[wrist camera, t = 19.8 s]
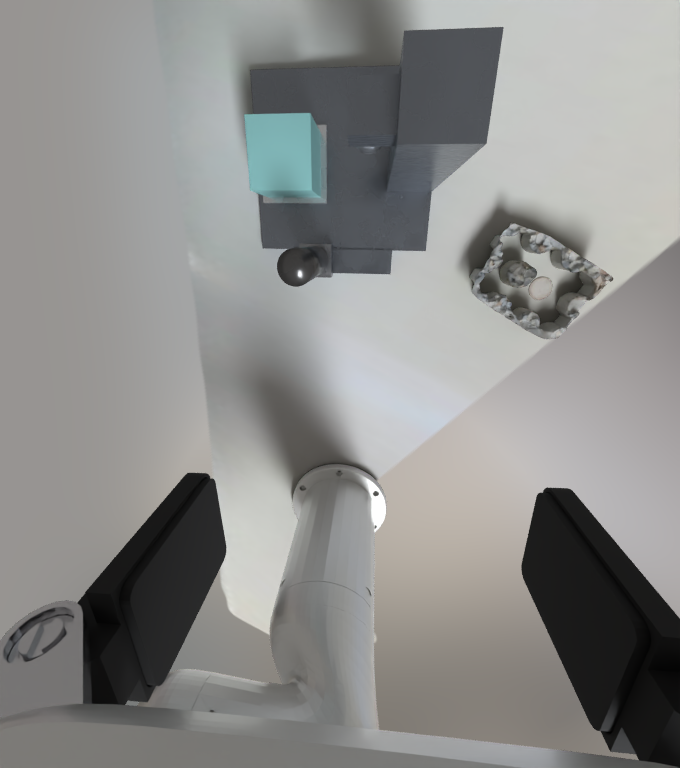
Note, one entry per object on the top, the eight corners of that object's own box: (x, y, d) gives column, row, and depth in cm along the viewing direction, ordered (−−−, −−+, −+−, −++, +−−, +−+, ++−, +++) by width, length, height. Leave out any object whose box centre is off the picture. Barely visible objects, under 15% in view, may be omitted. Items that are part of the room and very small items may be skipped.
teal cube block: (321, 197, 32) (311, 190, 27) (268, 197, 32) (250, 190, 28) (320, 132, 30) (310, 113, 25) (264, 133, 30) (244, 114, 26)
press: (421, 273, 35) (462, 304, 18) (267, 270, 36) (175, 296, 20) (442, 69, 29) (530, -161, 12) (254, 75, 30) (105, -126, 14)
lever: (332, 276, 35) (316, 289, 25) (302, 275, 35) (275, 288, 26) (332, 243, 34) (315, 245, 24) (301, 243, 34) (273, 244, 24)
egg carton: (594, 274, 34) (622, 279, 30) (540, 338, 37) (559, 350, 33) (506, 215, 33) (523, 212, 29) (456, 287, 35) (466, 292, 32)
